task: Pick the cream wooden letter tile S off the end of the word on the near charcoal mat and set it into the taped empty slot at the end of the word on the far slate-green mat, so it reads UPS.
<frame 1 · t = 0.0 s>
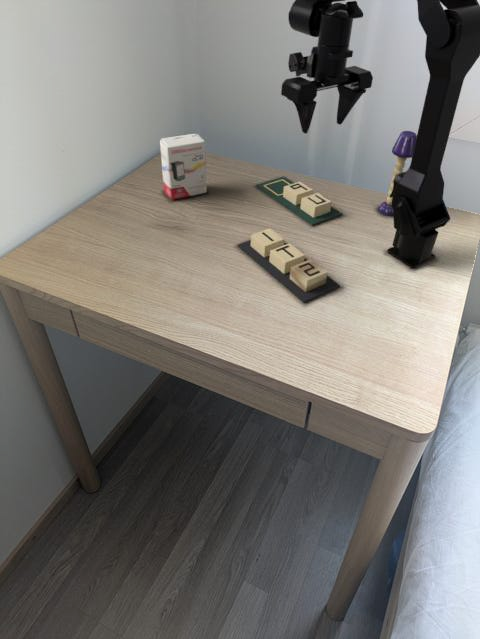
hand: (322, 128, 100), 15 cm above the table, tool pointing down, fingers open, 9 cm apart
far word mat: (297, 200, 108), on the table
tile s: (307, 281, 86), resting on near word mat
toy lamp: (388, 211, 105), on the table
ink box: (185, 193, 110), on the table
near word mat: (286, 265, 90), on the table
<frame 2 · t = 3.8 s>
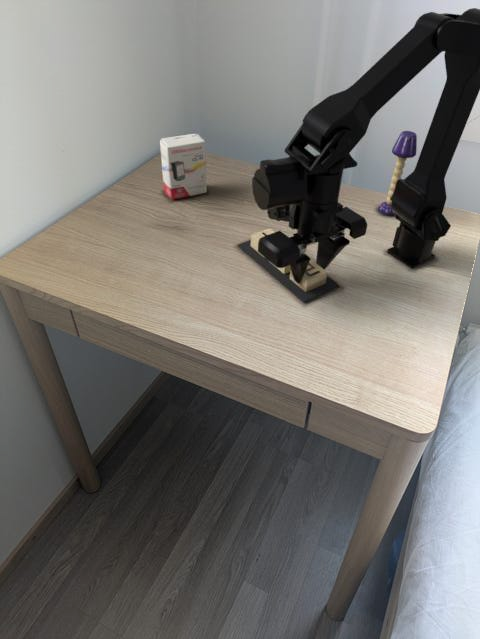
hand: (308, 277, 85), 1 cm above the table, tool pointing down, fingers closed on tile s, 4 cm apart
tile s: (307, 281, 86), resting on near word mat, touching gripper
everything else where it was.
when the fingers open (1 cm above the table, at t = 9.6 s): tile s stays where it is, resting on far word mat.
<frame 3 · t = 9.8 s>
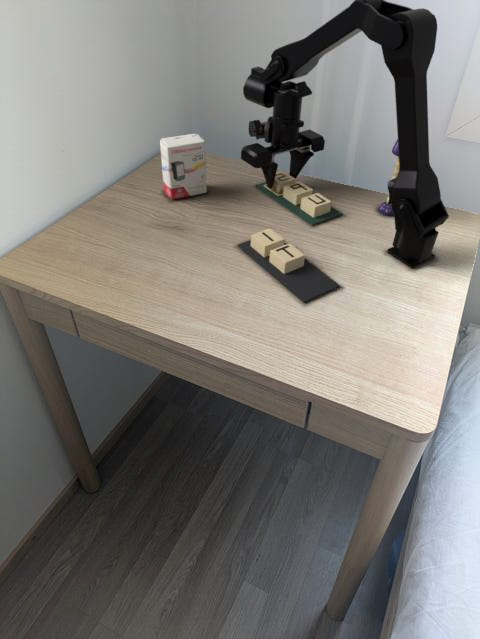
hand: (280, 185, 111), 1 cm above the table, tool pointing down, fingers open, 6 cm apart
tile s: (280, 187, 111), resting on far word mat
everything else where it was.
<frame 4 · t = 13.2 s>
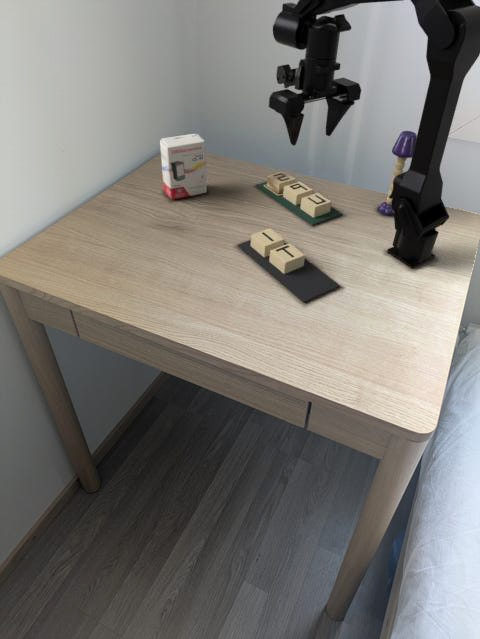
hand: (310, 140, 100), 13 cm above the table, tool pointing down, fingers open, 9 cm apart
nothing on the table moved.
at the end: tile s 0.0 cm from the target spot on the far word mat, point 0.4 cm above the far word mat's base; tile s tilted 0°; the gripper is holding nothing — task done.
